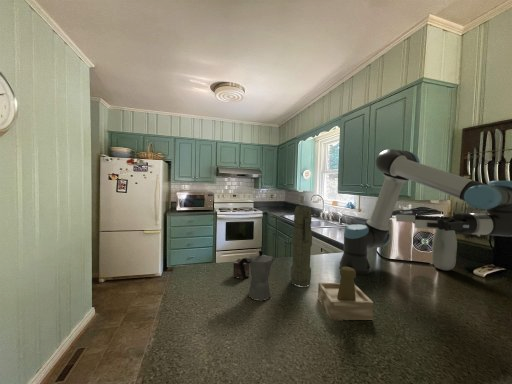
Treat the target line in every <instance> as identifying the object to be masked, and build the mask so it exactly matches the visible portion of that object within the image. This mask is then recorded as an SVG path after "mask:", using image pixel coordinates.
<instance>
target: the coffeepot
mask: <svg viewBox="0 0 512 384" xmlns="http://www.w3.org/2000/svg"><path fill="white" fill-rule="evenodd" d="M263 252H264V251H263V250H259V251H258V254H253V255H250V256H249V257H243V258H241V259H242V260H241V261H240V262H239V267H240V270H241V273H242V276H243V279H242V280H244V279H245V280H248V279H249V278H250V277H249V276H251V279H250V286H249V291H248V296H250V297H252V298H253V299H259V300H264V299H267V298H269V297H270V298H271V289H270V281H269V276H270V273H271V267H272V264H273V263H274V261H275V260H276V259H277V258H276V257H275V256H272V255H266V254H263ZM244 263H250V264H249V271H250V275H249V276H246V275H245V270H244V266H243V264H244ZM270 298H269V299H270Z"/></svg>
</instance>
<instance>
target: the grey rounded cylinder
mask: <svg viewBox="0 0 512 384" xmlns="http://www.w3.org/2000/svg"><path fill="white" fill-rule="evenodd" d="M434 230H435V231H434V234H433V238H432V247H431V252H432V253H431V260H432V264H433V266H434V267H436V268H437V269H439V270H441V271H447V272H448V271H451V270H453V269H454V268H455V266H456V264H457V263H456V262H457V251H458V250H457V249H458V239H457V235H456V232H455V231H454V230H452V231H445V230H444V229H442V230H440V229H438V228H437V229H434Z"/></svg>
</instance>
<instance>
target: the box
mask: <svg viewBox="0 0 512 384" xmlns="http://www.w3.org/2000/svg"><path fill="white" fill-rule="evenodd" d="M242 259H243V258H241V259H240V258H238V259H236V260H235V261H234V262H233V272H232V273H233V275H232V276H234V277H239V278H243V276H242V273H241V270H240V267H239V262H240V261H241V260H242ZM243 266H244V270H245V275H246V276H248V275H249V276H250V263H244V264H243Z"/></svg>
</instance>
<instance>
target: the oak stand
mask: <svg viewBox="0 0 512 384" xmlns="http://www.w3.org/2000/svg"><path fill="white" fill-rule="evenodd" d="M339 285H340V282H318V287H317V290H318V291H317V299H318V298H319V299H318V301H319V300H320V301H321V303H322V304H321V303H320V304H321V306H322V305H323V306H322V308H323V307H324V308H325V310H326V311H325V310H324V311H325V313H326V312H327V313H326V314H328V315H329V317H330V318H329V317H328V318H329V320H330V319H349V320H374V302H373V300H372V299H370V298H369V297H368V295H366V293H364V292H363V291H362V290H361V289H360V288H359V287H358V286H357V285H356V283H354V285H355V297H356V301H345V300H338V298H337V296H338V291H339ZM320 301H319V302H320ZM324 308H323V309H324ZM328 315H327V316H328Z"/></svg>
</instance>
